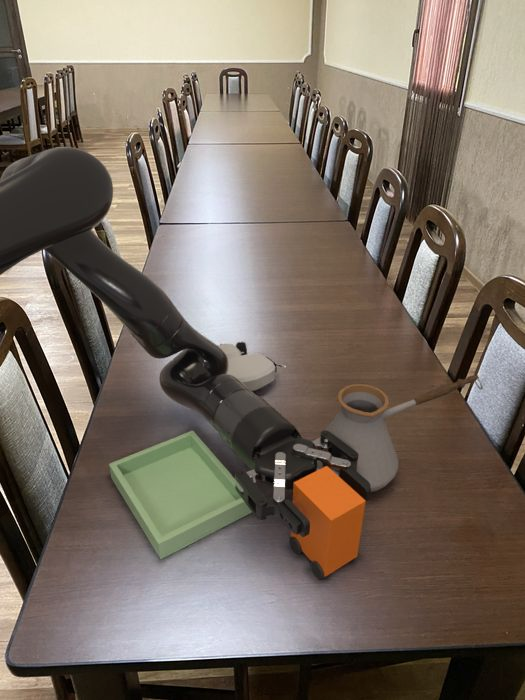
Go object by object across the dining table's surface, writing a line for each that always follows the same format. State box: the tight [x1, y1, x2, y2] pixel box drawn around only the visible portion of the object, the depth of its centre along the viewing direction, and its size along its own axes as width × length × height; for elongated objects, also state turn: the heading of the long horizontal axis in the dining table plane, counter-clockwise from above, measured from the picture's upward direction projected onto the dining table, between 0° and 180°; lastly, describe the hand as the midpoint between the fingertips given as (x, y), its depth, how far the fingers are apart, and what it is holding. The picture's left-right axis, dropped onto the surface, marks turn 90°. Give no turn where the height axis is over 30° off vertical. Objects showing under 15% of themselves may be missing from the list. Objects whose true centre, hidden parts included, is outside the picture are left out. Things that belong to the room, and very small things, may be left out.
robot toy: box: [217, 341, 287, 392], centre depth 93 cm, size 12×4×15 cm
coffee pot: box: [317, 374, 484, 493], centre depth 71 cm, size 21×12×15 cm, turn 98°
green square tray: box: [108, 430, 253, 560], centre depth 70 cm, size 16×13×3 cm
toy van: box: [289, 466, 367, 580], centre depth 61 cm, size 7×5×10 cm
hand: (339, 512), depth 57 cm, fingers open, 8 cm apart
